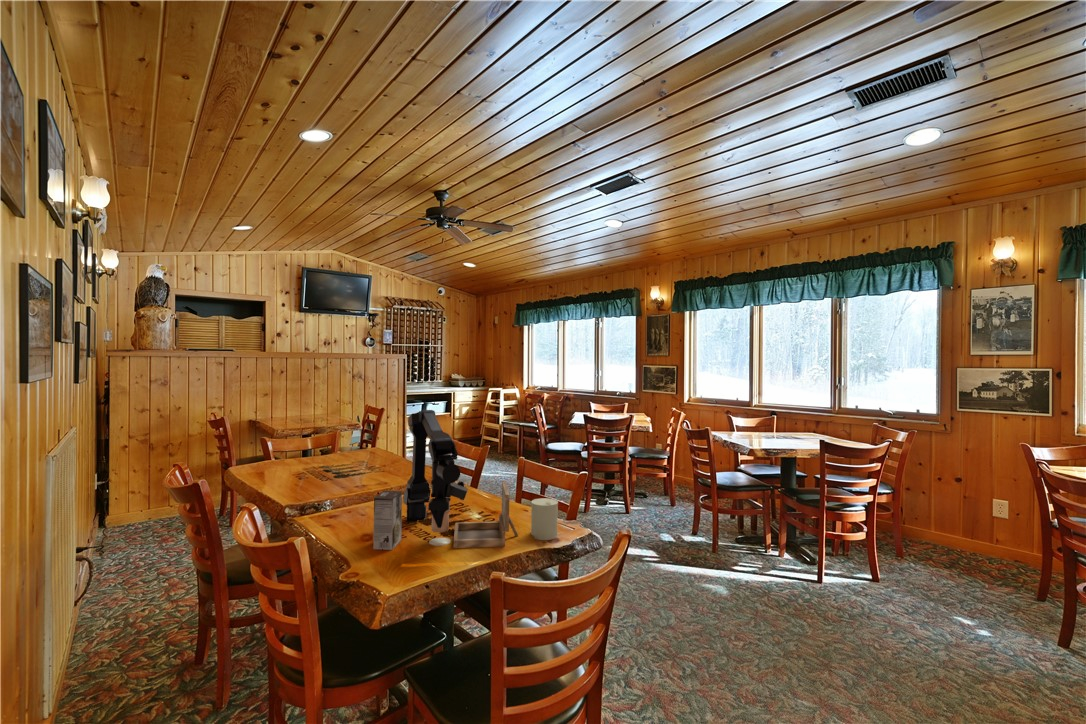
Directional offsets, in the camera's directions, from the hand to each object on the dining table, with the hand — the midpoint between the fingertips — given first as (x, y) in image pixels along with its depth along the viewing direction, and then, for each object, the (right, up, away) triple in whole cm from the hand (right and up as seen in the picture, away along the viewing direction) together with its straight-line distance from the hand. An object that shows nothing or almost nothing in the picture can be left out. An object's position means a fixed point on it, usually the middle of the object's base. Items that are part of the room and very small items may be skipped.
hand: (440, 524), depth 165 cm
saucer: (0, -6, 0) cm, 6 cm away
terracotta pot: (0, -2, 0) cm, 2 cm away
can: (+33, -7, +9) cm, 35 cm away
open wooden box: (+15, -7, +5) cm, 17 cm away
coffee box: (-17, -6, -1) cm, 18 cm away
